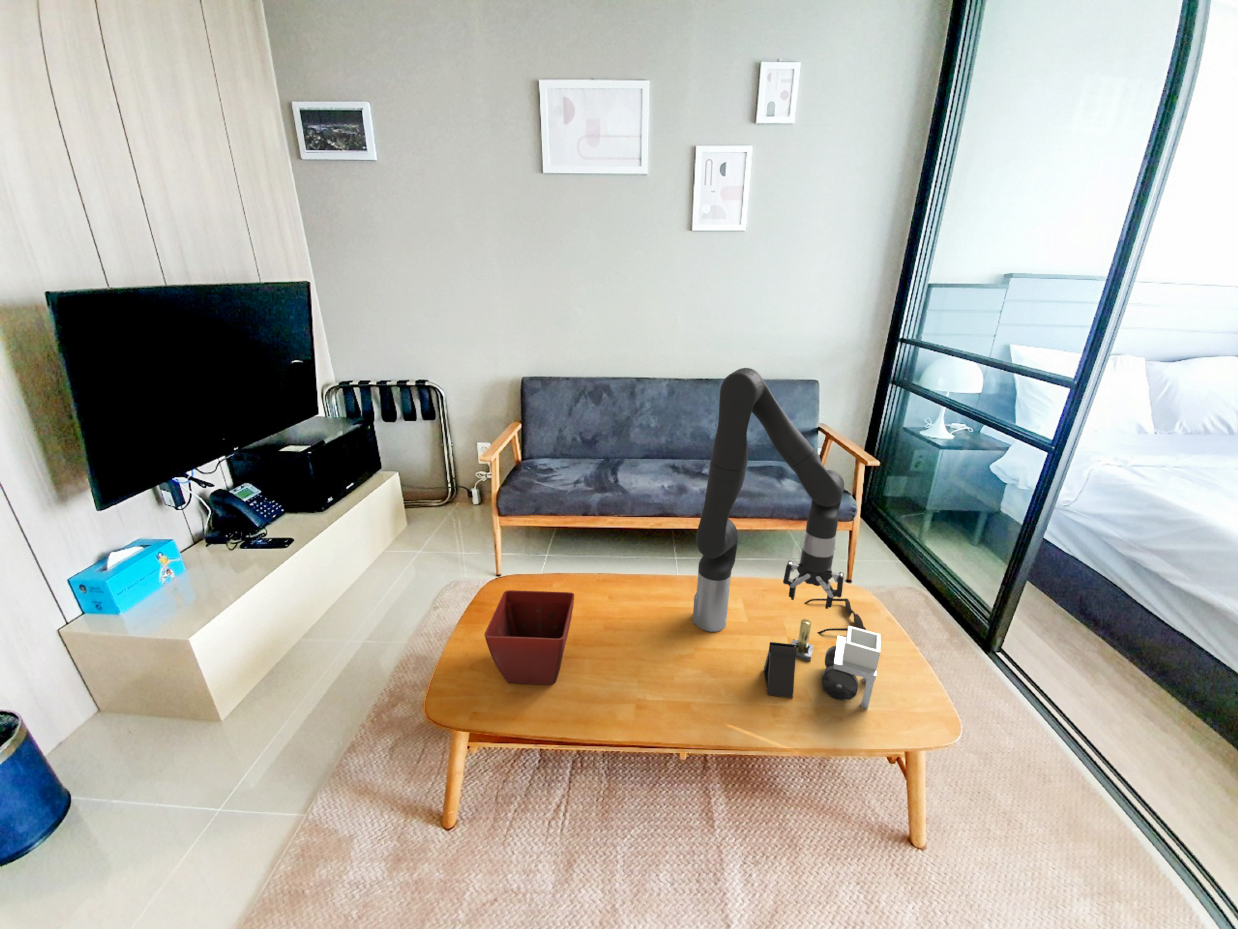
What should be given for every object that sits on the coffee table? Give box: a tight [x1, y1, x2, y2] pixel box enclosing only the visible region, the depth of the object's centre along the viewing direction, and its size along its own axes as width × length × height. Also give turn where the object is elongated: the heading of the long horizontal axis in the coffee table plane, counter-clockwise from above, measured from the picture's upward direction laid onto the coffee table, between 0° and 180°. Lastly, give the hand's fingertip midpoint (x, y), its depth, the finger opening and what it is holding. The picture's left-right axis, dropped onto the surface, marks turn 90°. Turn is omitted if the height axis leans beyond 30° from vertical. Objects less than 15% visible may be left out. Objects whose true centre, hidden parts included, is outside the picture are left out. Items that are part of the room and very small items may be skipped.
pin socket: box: [791, 639, 815, 662], centre depth 138 cm, size 5×5×2 cm
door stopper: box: [763, 641, 797, 699], centre depth 126 cm, size 9×6×12 cm, turn 171°
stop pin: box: [796, 618, 812, 654], centre depth 137 cm, size 3×3×10 cm
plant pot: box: [484, 589, 575, 686], centre depth 130 cm, size 19×19×17 cm
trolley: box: [820, 635, 877, 710], centre depth 125 cm, size 11×11×10 cm
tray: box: [843, 625, 882, 671], centre depth 122 cm, size 7×7×5 cm
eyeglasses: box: [803, 598, 867, 635], centre depth 151 cm, size 15×15×5 cm
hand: (809, 602), depth 133 cm, fingers open, 8 cm apart
